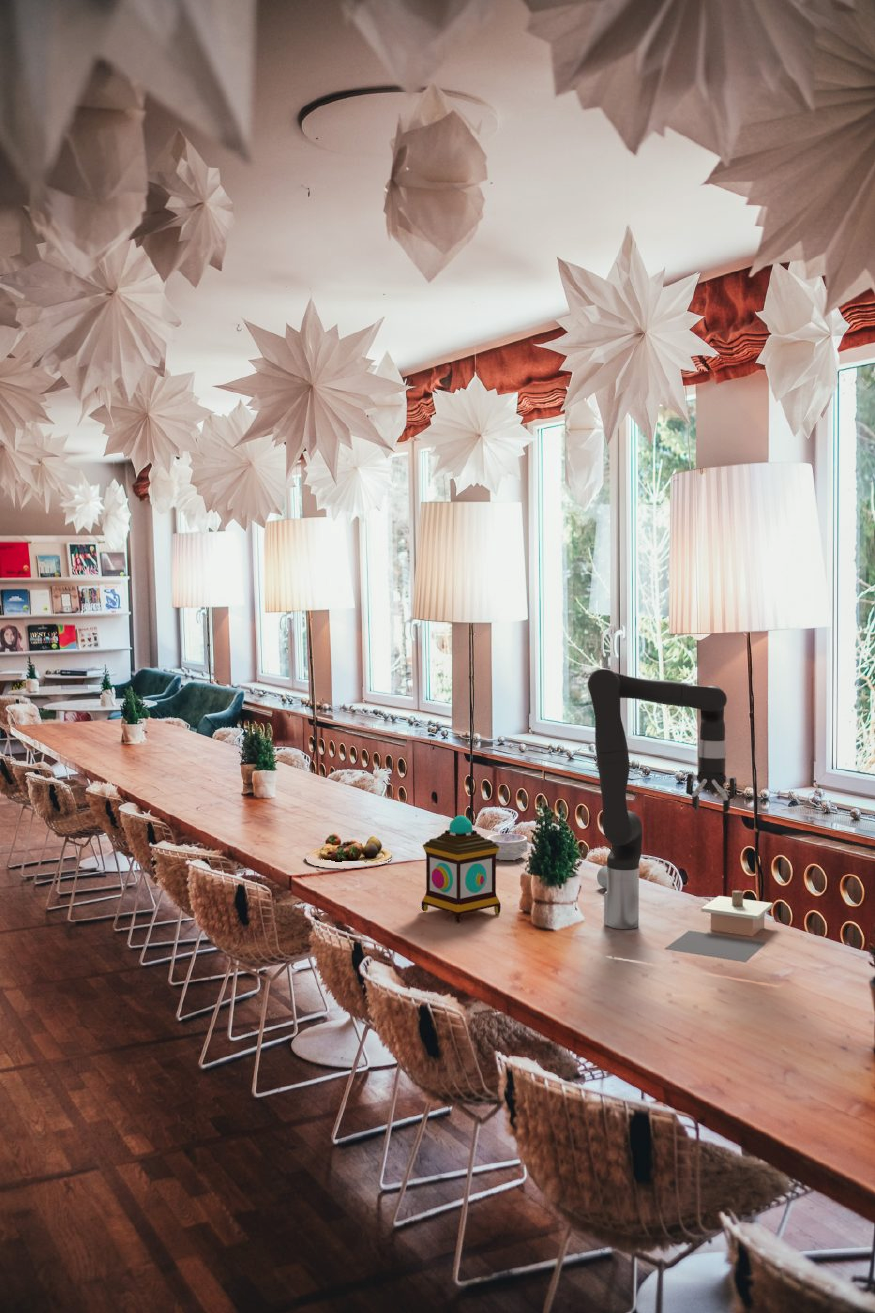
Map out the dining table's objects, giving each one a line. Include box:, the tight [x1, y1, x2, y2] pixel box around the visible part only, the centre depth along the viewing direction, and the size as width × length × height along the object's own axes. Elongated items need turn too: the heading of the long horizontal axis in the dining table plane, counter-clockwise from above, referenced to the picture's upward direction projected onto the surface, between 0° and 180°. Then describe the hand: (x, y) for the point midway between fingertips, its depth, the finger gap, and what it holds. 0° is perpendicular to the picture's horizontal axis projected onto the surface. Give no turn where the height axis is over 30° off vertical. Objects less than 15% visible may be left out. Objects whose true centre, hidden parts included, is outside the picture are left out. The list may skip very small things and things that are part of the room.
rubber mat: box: [664, 930, 767, 963], centre depth 306 cm, size 22×20×1 cm
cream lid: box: [700, 890, 774, 920], centre depth 323 cm, size 16×16×5 cm
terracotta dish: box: [710, 913, 766, 937], centre depth 323 cm, size 12×12×6 cm
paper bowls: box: [485, 833, 528, 861], centre depth 415 cm, size 15×15×8 cm
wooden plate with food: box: [308, 833, 393, 863], centre depth 414 cm, size 32×32×8 cm
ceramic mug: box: [596, 864, 607, 890], centre depth 368 cm, size 11×8×8 cm
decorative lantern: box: [421, 814, 502, 924], centre depth 340 cm, size 20×20×30 cm
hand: (710, 811), depth 325 cm, fingers open, 8 cm apart
